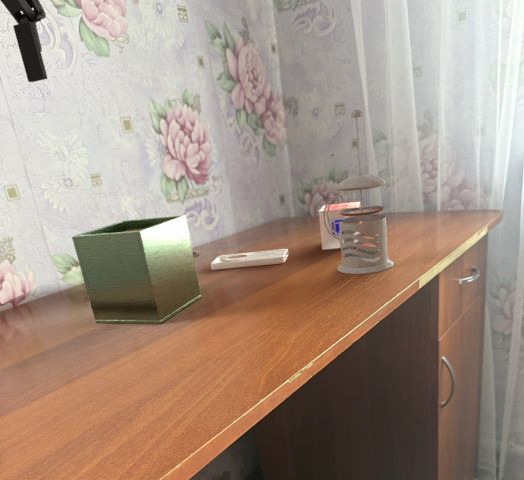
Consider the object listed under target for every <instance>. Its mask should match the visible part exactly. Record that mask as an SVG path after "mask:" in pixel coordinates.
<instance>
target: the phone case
mask: <svg viewBox="0 0 524 480" xmlns="http://www.w3.org/2000/svg"><path fill="white" fill-rule="evenodd" d="M240 256H242V257H240ZM229 257H230V258H229ZM231 257H232V258H231ZM288 257H289V249H288V248H281V249H280V248H279V249H273V250H272V249H271V250H270V249H269V250H261V251H251V252H242V253H229V254H222V255H217V257H216V258H215V259H213V261H212V262H211V263H210V268H211V270H213V271H215V270H225V269H226V270H227V269H237V268H247V267H248V268H249V267H258V266H269V265H279V264H284V263H285V262H286V261H287V259H288Z"/></svg>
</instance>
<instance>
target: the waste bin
mask: <svg viewBox="0 0 524 480" xmlns="http://www.w3.org/2000/svg"><path fill="white" fill-rule="evenodd" d="M144 228H145V229H144ZM133 229H142V230H139V231H128V232H124V231H127V230H133ZM71 240H72V242H73V246H74V251H75V253H76V256H77V260H78V265H79V267H80V271H81V275H82V278H83V282H84V285H85V289H86V294H87V296H88V299H89V303H90V307H91V310H92V313H93V318H94V320H95V321H94V322H95V323H96V324H129V325H130V324H132V325H133V324H134V325H135V324H136V325H137V324H139V325H141V324H144V325H162V324H163V323H164V322H166V321H168V320H170V319H171V318H173V316H176V315H177V314H178V313H180V312H182V311H183V310H185V309H186V308H188V307H190V306H191V305H192V304H194V303H196V302H197V301H198V300H200V299H201V298H202V295H201V289H200V285H199V280H198V279H199V278H198V274H197V269H196V263H195V259H194V254H193V253H194V252H193V248H192V243H191V237H190V231H189V226H188V222H187V218H186V215H185V214H184V215H171V216H161V217H150V218H139V219H137V218H136V219H129V220H126V219H125V220H120V221H117V222H114V223H111V224H107V225H105V226H101V227H98V228H95V229H91V230H89V231H85V232H82V233H81V232H80V233H78V234H75V235H72V236H71Z"/></svg>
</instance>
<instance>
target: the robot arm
mask: <svg viewBox="0 0 524 480" xmlns="http://www.w3.org/2000/svg"><path fill="white" fill-rule="evenodd" d="M0 2H1V4H2V5H3V6H4V8H6V9H7V11H8V12H9V14H10V15H11V16H12V18H13V19H14V20H15V22H16V23H17V24H14V25H12V27H13V31H14V34H15V35H14V36H15V38H16V42H17V46H18V49H19V52H20V57H21V59H22V64H23V68H24V71H25V74H26V78H27V81H28V83H34V82H39V81H43V80H48V75H47V71H46V67H45V63H44V59H43V56H42V52H43V51H42V49H43V48H42V44H41V39H40V35H39V32H38V28H37V23H38V22H41V21H42V20H44V19H46V16H47V15H46V11H45V10H44V8H43V6H42V4H41V1H40V0H0Z"/></svg>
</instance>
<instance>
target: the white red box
mask: <svg viewBox="0 0 524 480" xmlns="http://www.w3.org/2000/svg"><path fill="white" fill-rule="evenodd" d="M325 206H326V204H324V205H322V207H321V208H320V209H319V210H318V221H319V230H320V240H321V241H320V242H321V250H322V251H323V250H335V249H336V250H337V249H341V246H340V241H339V240H338V239H336V238H335V237H337V238H339V239H341V238H340V236H338V235H336V234H335V233H334V232H333V231H332V230H331V228H330V226H329V223H328V218H327V210H328V206H329V204H328V205H327V208H326V210H325V222H326V226H327V228H328V230H329V232H330V233H331V234H332V235H333V236H335V237H333V236H332V235H330V234H329V233H328V231H327V229H326V227H325V224H324V217H323V213H324V209H325ZM360 206H361V201H352V202H341V204H338V203H334V204H331V205H330V207H329V221H330V225H331V227H332V229H333V230H334V231H335V232H336V233H337V234H339V235H340V224H339V221H341V223H342V220H343V219H345V218H349V217H351V216H343V215H341V213H340V212H341V211H342V210H344V209H348V208H351V209H352V208H353V207H354V208H355V207H360ZM352 217H354V216H352ZM359 223H362V222H359ZM357 234H360V233H359V232H355V233H353V235H357ZM342 236H343V232H342ZM358 241H359V240H354V242H355V243H356V242H358ZM342 242H343V243H344V241H343V240H342ZM360 245H362V244H360ZM343 249H344V247H343Z"/></svg>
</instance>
